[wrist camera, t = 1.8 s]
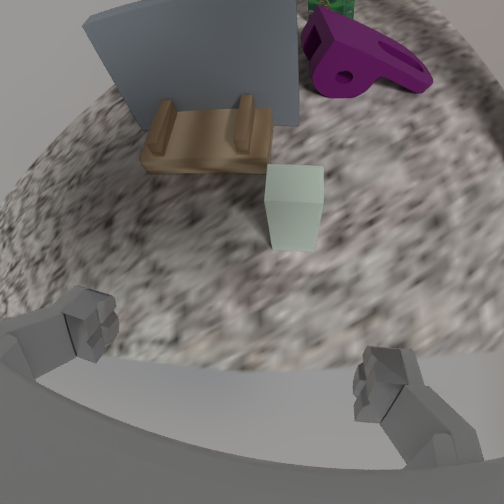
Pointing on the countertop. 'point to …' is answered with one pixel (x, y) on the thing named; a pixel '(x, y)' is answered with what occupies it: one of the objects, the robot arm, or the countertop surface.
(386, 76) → the mounting bracket
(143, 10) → the wall board
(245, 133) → the cleat ledge
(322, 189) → the cabinet block
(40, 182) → the countertop surface
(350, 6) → the coffee box
